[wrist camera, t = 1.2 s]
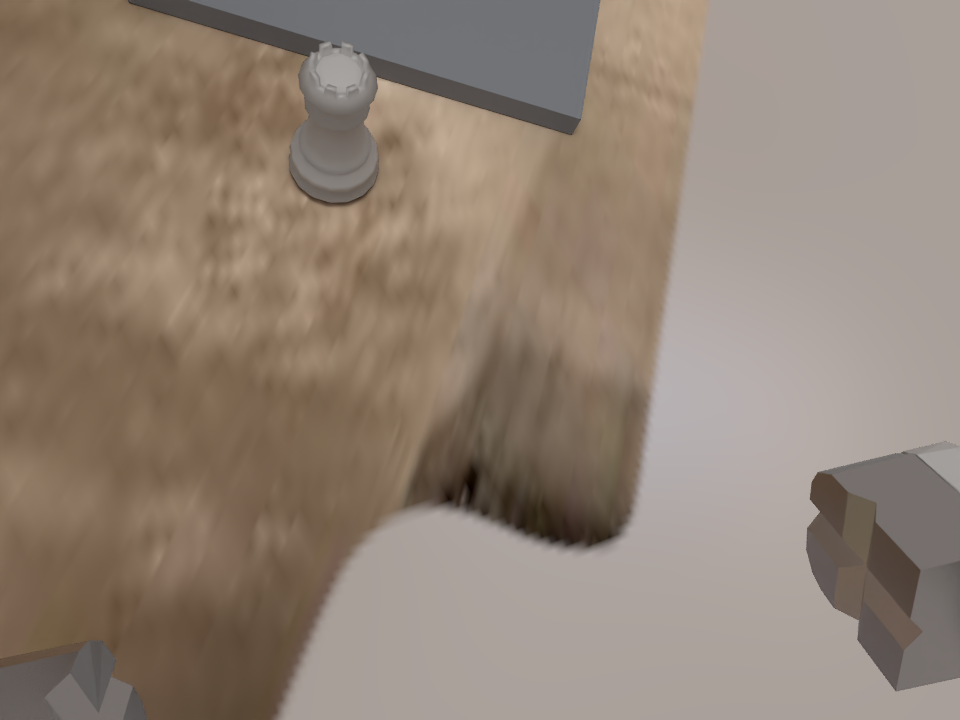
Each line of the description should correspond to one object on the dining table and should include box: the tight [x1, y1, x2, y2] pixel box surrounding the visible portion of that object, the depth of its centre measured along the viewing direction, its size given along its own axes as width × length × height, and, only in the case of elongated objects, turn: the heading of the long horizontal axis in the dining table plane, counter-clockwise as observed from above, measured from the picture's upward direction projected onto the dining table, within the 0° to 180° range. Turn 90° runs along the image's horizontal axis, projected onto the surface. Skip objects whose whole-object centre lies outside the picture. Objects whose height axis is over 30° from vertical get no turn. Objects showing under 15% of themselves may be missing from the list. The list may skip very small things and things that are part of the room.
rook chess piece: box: [289, 41, 379, 203], centre depth 33 cm, size 4×4×8 cm
